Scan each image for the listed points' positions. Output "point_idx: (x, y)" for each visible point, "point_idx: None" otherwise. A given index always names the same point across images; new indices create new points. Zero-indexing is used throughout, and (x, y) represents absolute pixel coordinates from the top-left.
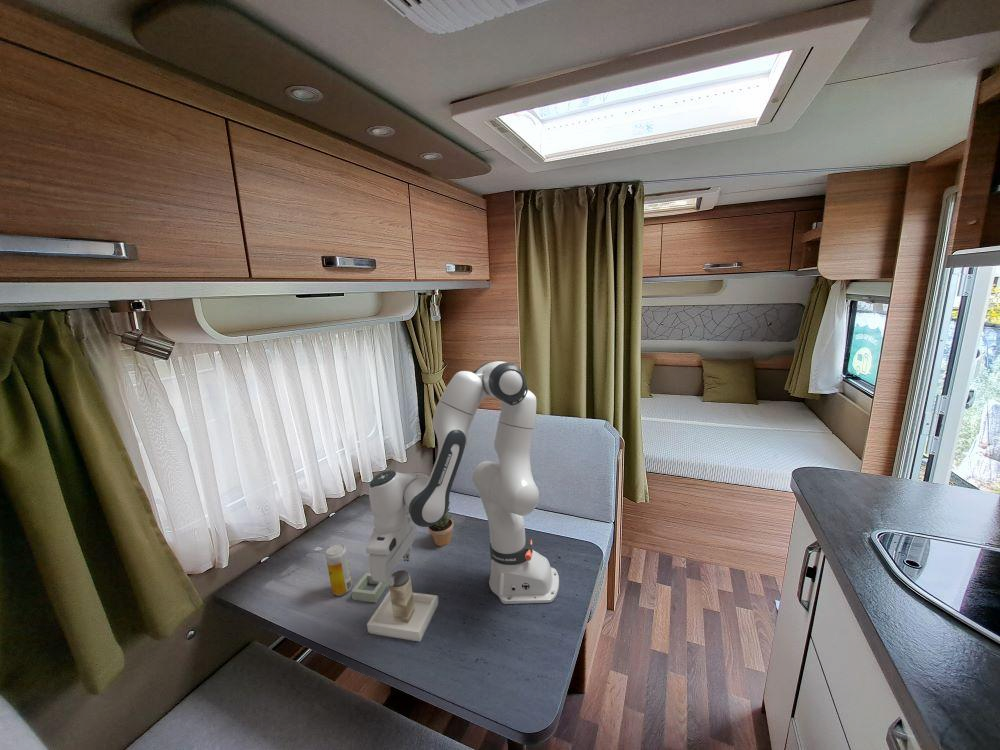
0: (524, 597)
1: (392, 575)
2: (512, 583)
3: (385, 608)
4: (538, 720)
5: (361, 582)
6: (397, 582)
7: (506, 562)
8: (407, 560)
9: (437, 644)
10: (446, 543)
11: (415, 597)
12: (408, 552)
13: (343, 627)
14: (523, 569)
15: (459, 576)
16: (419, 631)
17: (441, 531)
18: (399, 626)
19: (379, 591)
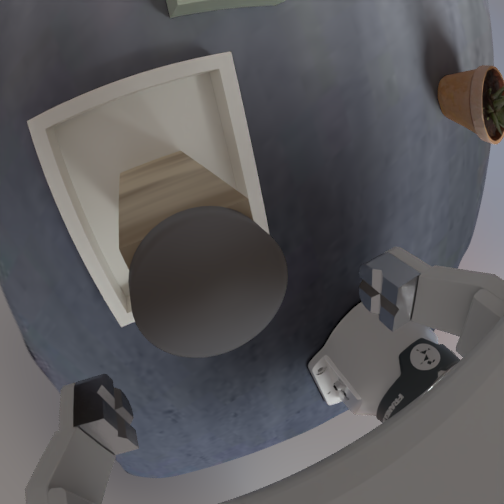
0: (326, 384)
1: (198, 235)
2: (346, 387)
3: (151, 87)
4: (152, 475)
5: None
6: (159, 337)
7: (380, 415)
8: (365, 296)
9: (143, 343)
10: (446, 115)
11: (241, 183)
12: (427, 317)
13: (25, 15)
14: (369, 414)
15: (364, 225)
16: (124, 325)
17: (484, 124)
18: (93, 253)
19: (212, 4)
